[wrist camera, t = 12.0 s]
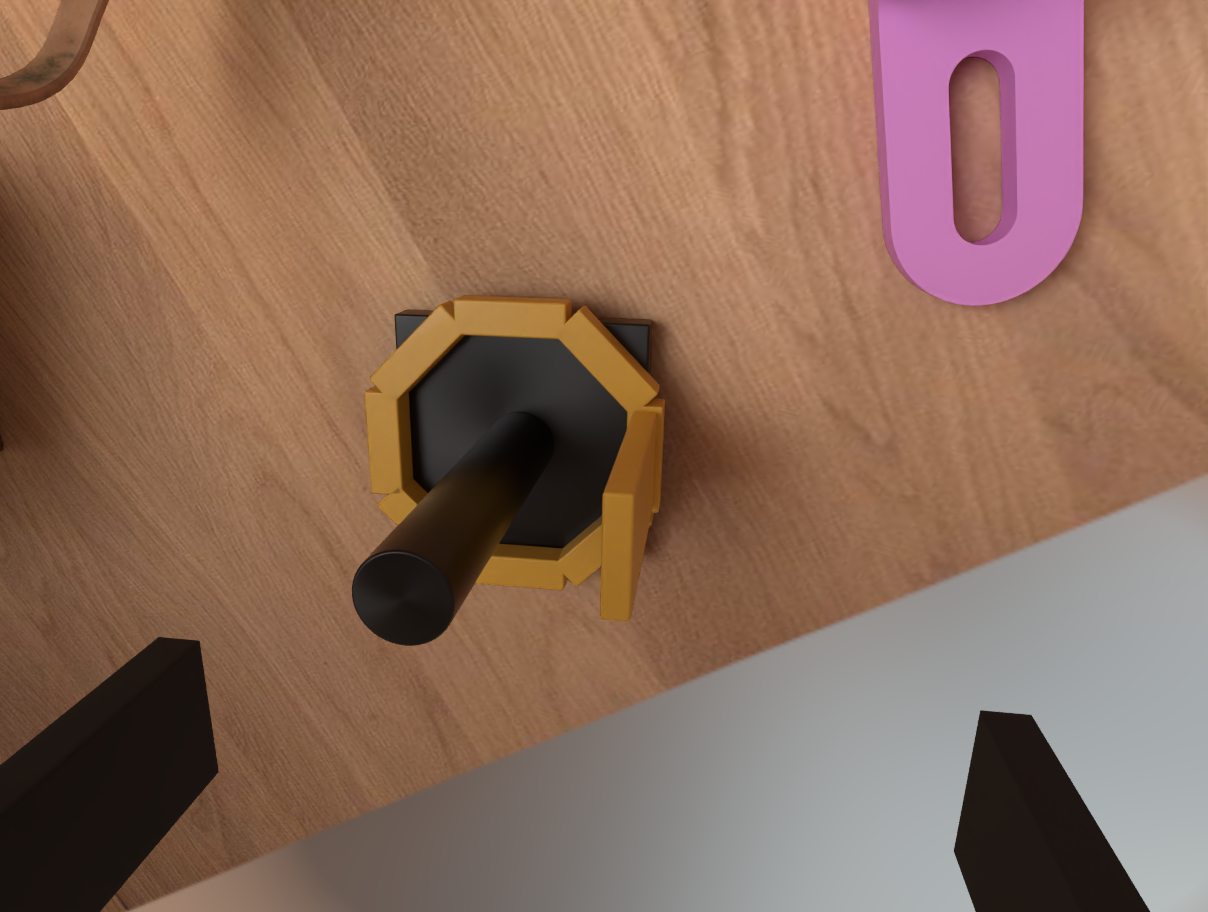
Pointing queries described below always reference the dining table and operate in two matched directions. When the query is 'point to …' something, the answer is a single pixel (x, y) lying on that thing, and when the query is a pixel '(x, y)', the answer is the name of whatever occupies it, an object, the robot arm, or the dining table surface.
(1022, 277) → the bracket
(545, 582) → the ring
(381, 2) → the dining table surface
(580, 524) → the post
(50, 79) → the mug
